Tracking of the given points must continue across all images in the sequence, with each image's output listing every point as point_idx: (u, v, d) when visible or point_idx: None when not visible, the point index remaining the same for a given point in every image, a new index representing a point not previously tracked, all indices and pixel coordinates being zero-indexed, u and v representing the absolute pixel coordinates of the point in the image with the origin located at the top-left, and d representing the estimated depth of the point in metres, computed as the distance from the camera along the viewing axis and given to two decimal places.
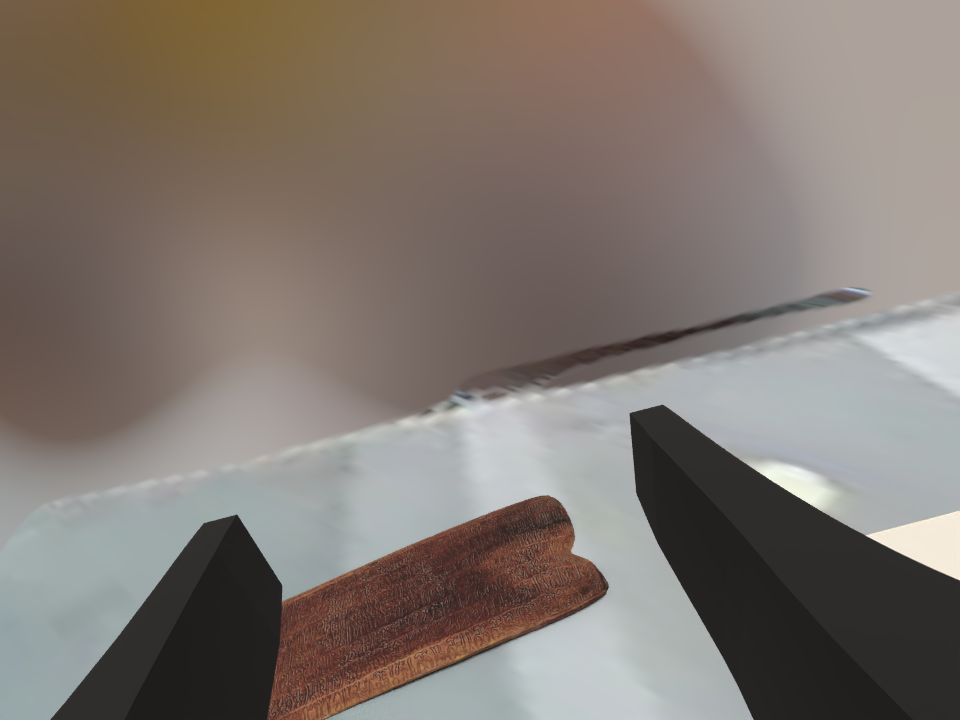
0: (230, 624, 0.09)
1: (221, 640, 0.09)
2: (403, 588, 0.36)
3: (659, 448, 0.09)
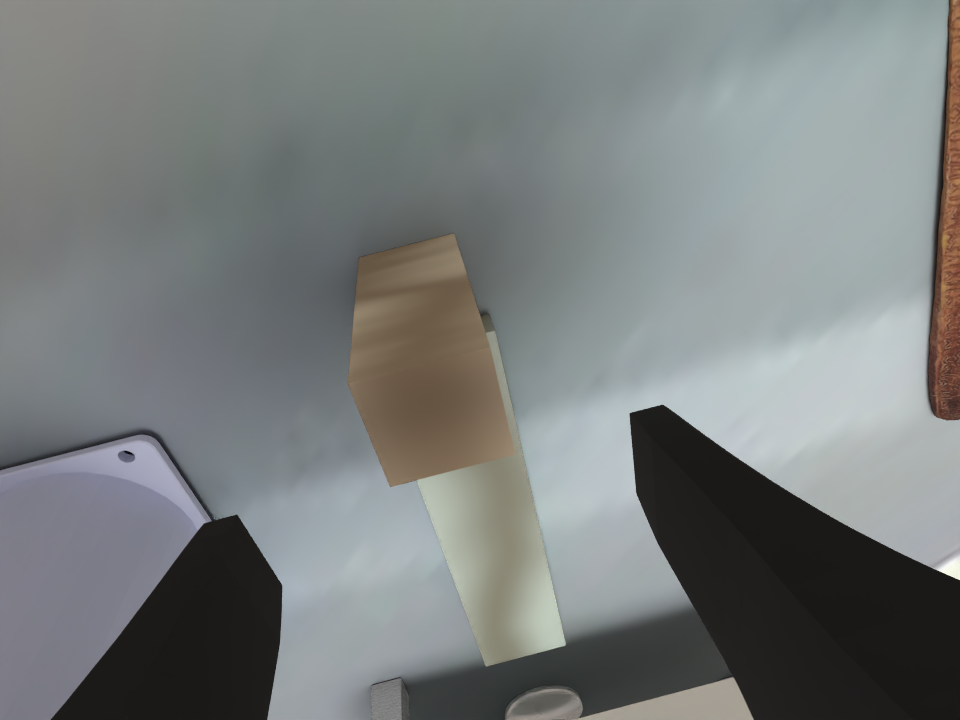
0: (230, 624, 0.09)
1: (220, 640, 0.09)
2: None
3: (659, 448, 0.09)
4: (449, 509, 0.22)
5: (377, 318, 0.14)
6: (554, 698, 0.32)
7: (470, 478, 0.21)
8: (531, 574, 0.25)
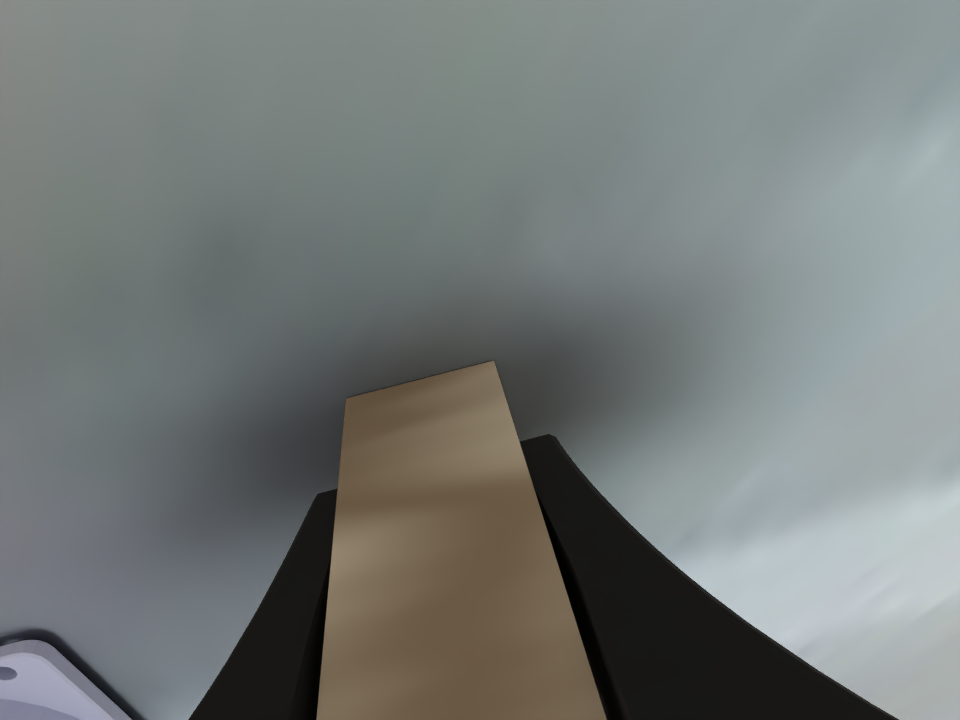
0: None
1: None
2: None
3: None
4: None
5: (373, 580, 0.08)
6: None
7: None
8: None
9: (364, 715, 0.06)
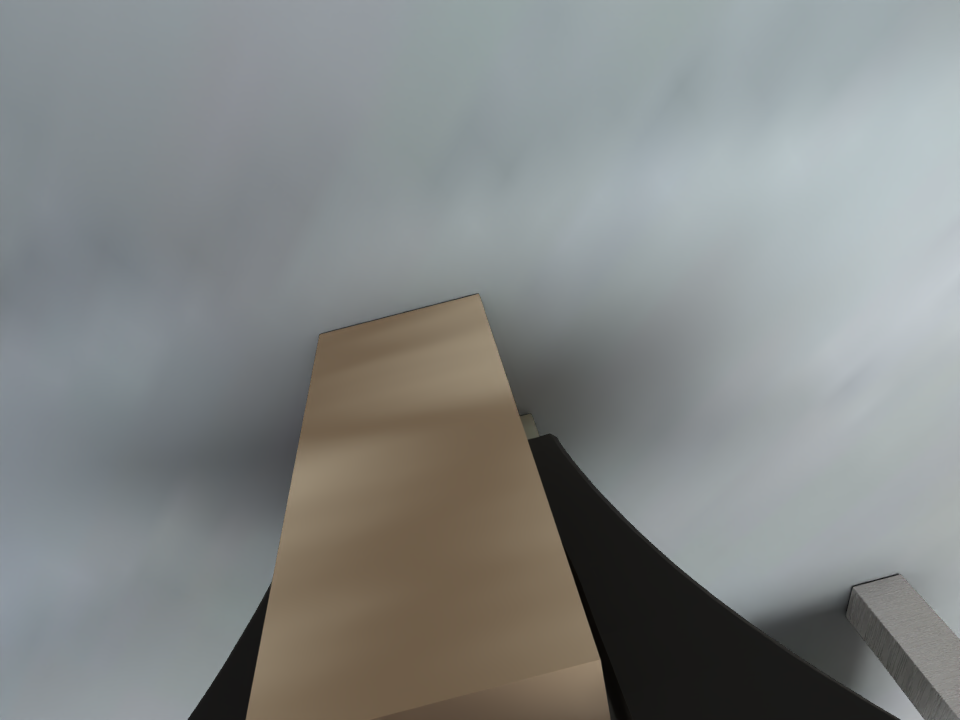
0: None
1: None
2: None
3: None
4: None
5: (335, 503, 0.07)
6: None
7: None
8: None
9: (314, 638, 0.05)
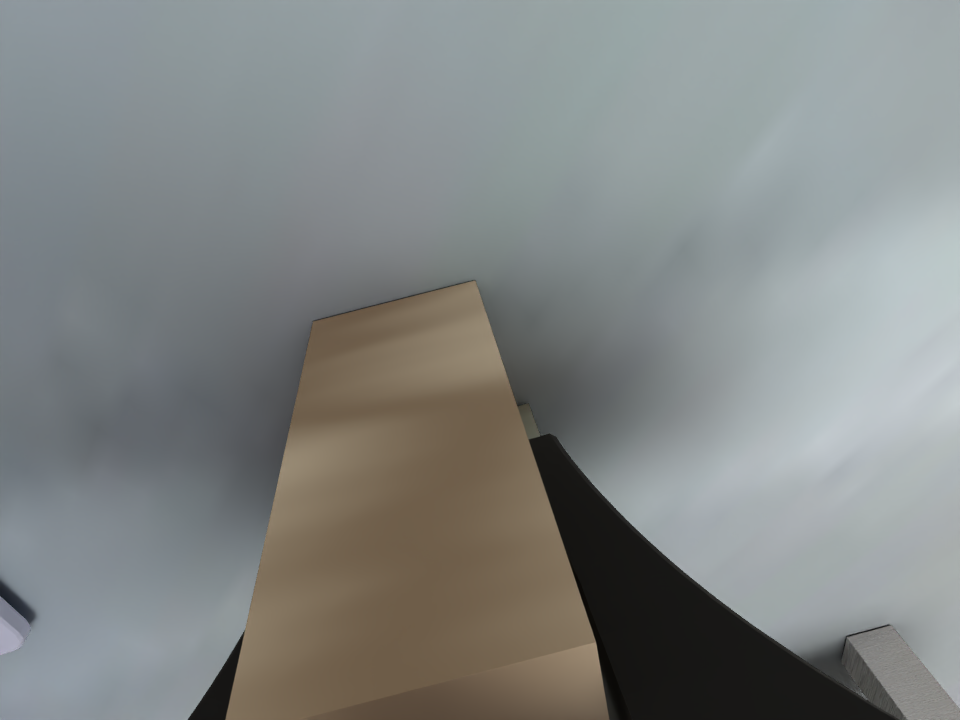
0: None
1: None
2: None
3: None
4: None
5: (326, 487, 0.07)
6: None
7: None
8: None
9: (301, 622, 0.05)
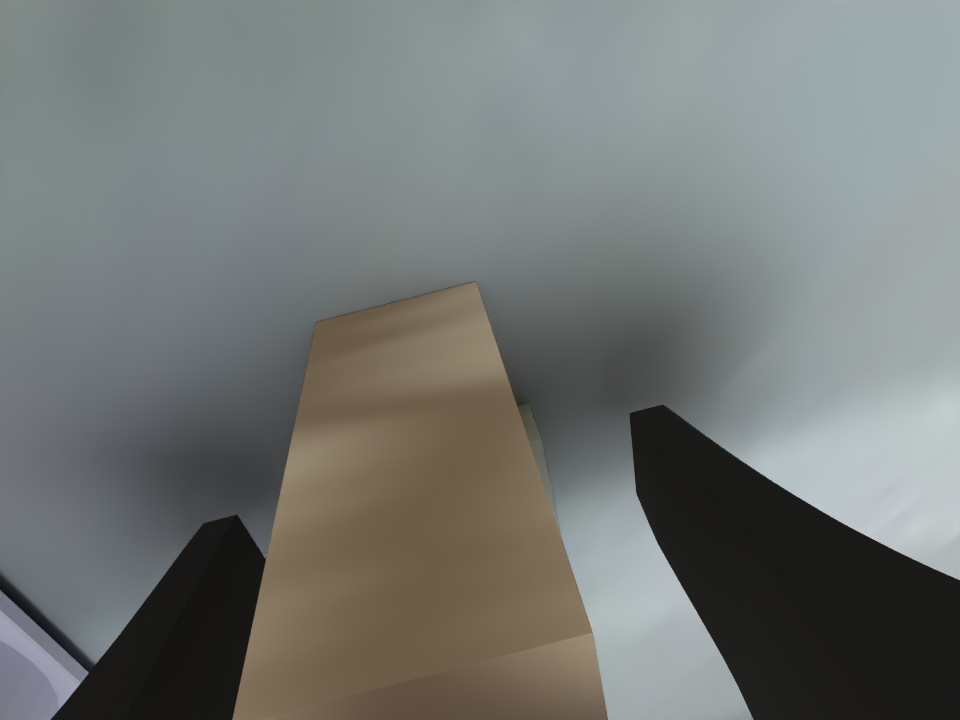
0: (230, 624, 0.09)
1: (220, 640, 0.09)
2: None
3: (659, 448, 0.09)
4: None
5: (331, 484, 0.07)
6: None
7: None
8: None
9: (307, 614, 0.05)
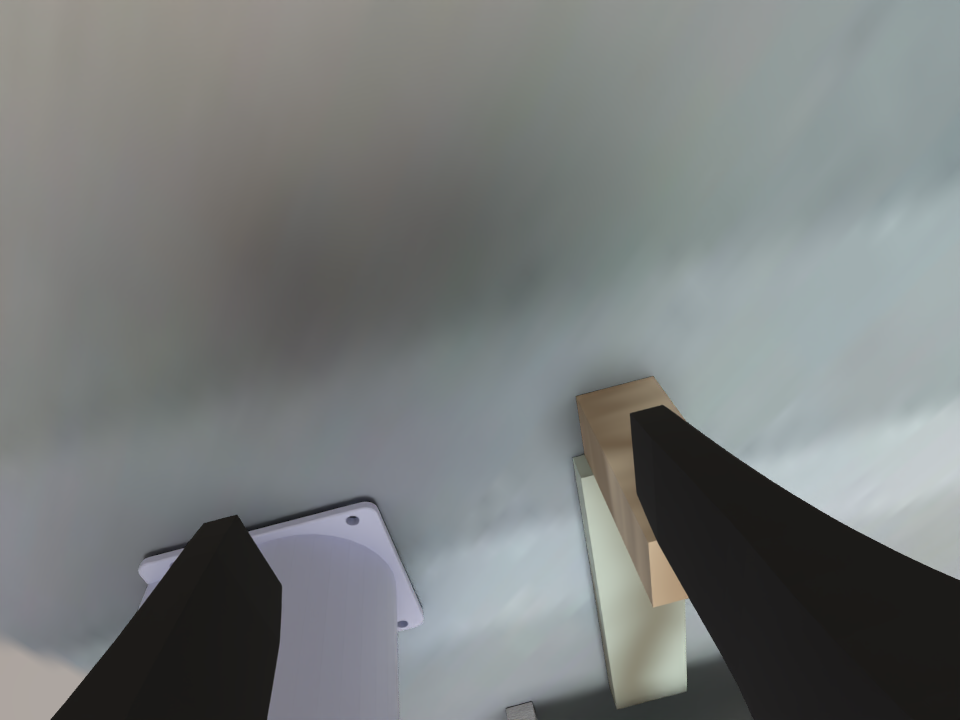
0: (230, 624, 0.09)
1: (220, 640, 0.09)
2: None
3: (659, 448, 0.09)
4: (615, 586, 0.26)
5: None
6: None
7: None
8: (670, 635, 0.29)
9: None
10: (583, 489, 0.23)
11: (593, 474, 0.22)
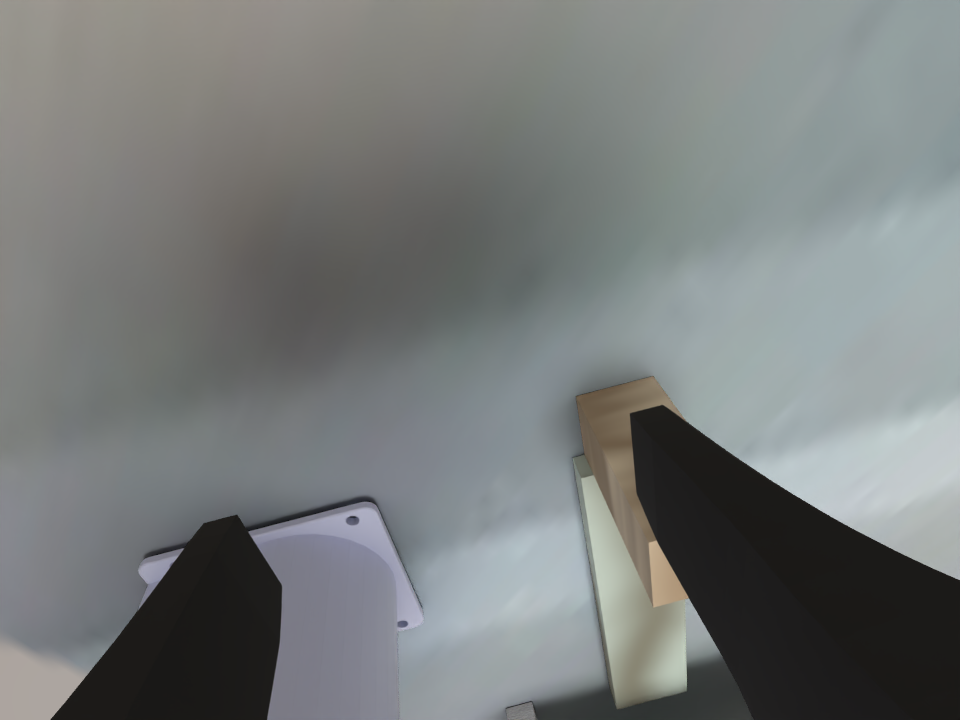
0: (230, 624, 0.09)
1: (220, 640, 0.09)
2: None
3: (659, 448, 0.09)
4: (615, 586, 0.26)
5: None
6: None
7: None
8: (670, 635, 0.29)
9: None
10: (583, 489, 0.23)
11: (593, 474, 0.22)
